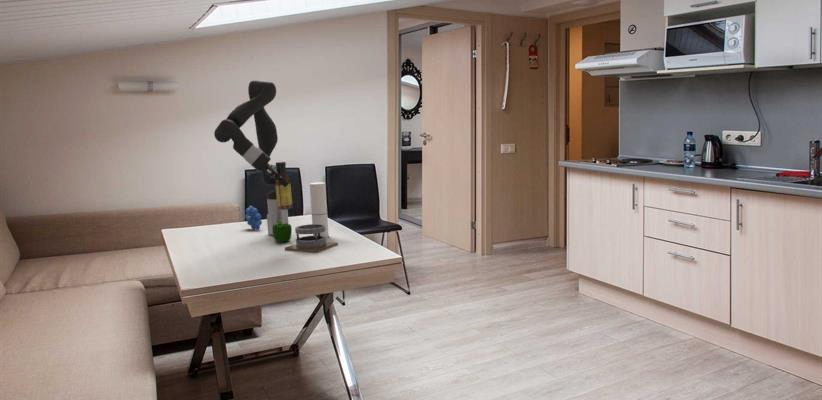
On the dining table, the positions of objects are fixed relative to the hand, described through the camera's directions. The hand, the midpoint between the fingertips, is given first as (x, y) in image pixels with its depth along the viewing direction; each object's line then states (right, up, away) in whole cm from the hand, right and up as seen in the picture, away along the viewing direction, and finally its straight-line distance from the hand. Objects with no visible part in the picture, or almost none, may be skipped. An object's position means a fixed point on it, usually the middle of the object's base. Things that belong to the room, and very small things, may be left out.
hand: (287, 184), depth 267 cm
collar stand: (+9, -27, +5) cm, 29 cm away
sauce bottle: (-1, -11, +1) cm, 11 cm away
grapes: (-28, -22, +54) cm, 65 cm away
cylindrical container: (+10, -24, +28) cm, 38 cm away
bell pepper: (-6, -26, +20) cm, 33 cm away
